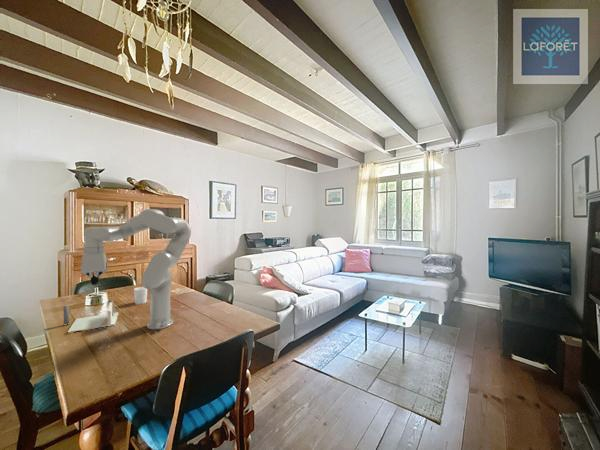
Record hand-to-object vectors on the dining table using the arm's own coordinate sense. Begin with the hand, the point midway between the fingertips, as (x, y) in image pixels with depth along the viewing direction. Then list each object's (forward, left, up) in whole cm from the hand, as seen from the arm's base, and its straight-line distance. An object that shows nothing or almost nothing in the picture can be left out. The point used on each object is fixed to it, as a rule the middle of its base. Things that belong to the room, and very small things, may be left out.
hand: (95, 284), depth 129 cm
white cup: (+30, -20, -23) cm, 43 cm away
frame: (+5, +3, -23) cm, 23 cm away
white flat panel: (0, -6, -21) cm, 22 cm away
